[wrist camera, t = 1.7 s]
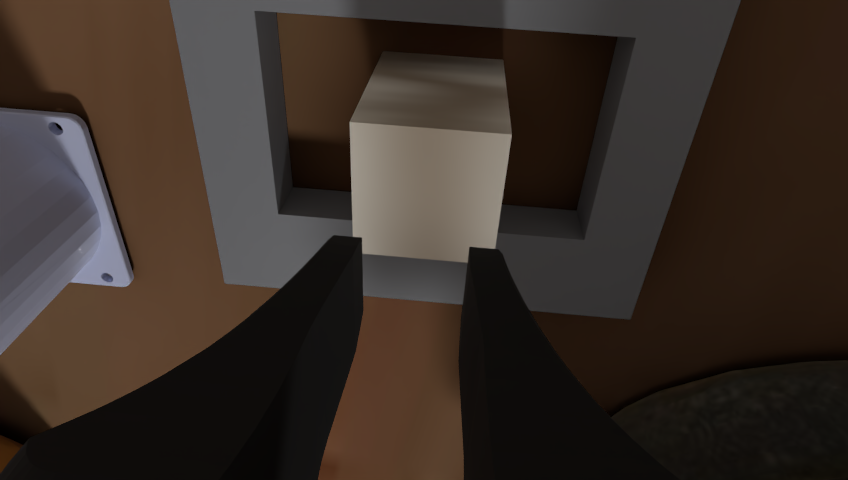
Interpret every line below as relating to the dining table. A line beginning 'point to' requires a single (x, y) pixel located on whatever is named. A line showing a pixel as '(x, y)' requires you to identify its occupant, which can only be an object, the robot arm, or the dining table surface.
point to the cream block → (430, 156)
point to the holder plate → (518, 225)
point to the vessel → (749, 424)
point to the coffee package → (7, 451)
